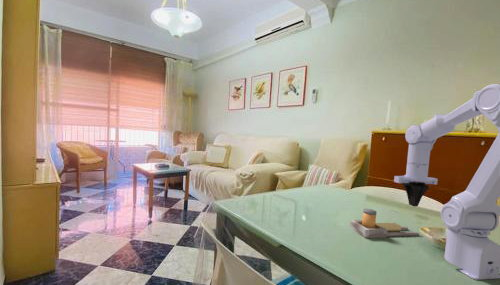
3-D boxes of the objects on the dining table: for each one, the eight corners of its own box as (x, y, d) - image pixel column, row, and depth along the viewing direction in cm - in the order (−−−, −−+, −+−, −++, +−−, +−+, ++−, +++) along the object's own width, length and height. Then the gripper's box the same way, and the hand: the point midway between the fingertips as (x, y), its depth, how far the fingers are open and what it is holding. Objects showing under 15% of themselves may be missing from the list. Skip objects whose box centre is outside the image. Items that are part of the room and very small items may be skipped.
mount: (424, 239, 73) (425, 229, 73) (364, 240, 69) (365, 229, 69) (404, 229, 81) (405, 220, 80) (349, 229, 77) (350, 220, 76)
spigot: (376, 234, 72) (379, 212, 72) (367, 235, 71) (369, 212, 71) (368, 229, 76) (370, 208, 75) (358, 230, 75) (361, 208, 75)
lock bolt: (400, 233, 74) (401, 226, 74) (378, 234, 73) (378, 226, 73) (394, 230, 77) (394, 222, 77) (372, 230, 75) (373, 223, 75)
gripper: (425, 163, 81) (421, 202, 82) (388, 161, 78) (384, 201, 79) (445, 166, 74) (441, 208, 75) (406, 164, 71) (401, 208, 72)
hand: (413, 205), depth 76 cm, fingers closed
